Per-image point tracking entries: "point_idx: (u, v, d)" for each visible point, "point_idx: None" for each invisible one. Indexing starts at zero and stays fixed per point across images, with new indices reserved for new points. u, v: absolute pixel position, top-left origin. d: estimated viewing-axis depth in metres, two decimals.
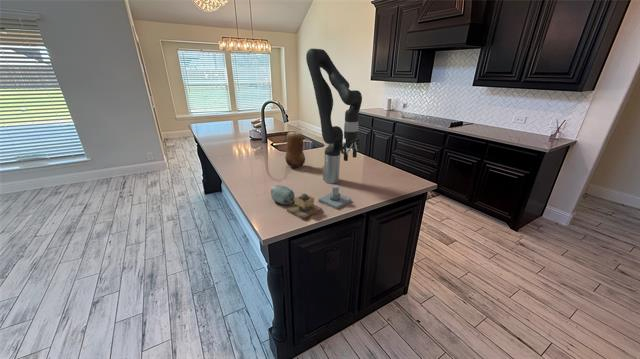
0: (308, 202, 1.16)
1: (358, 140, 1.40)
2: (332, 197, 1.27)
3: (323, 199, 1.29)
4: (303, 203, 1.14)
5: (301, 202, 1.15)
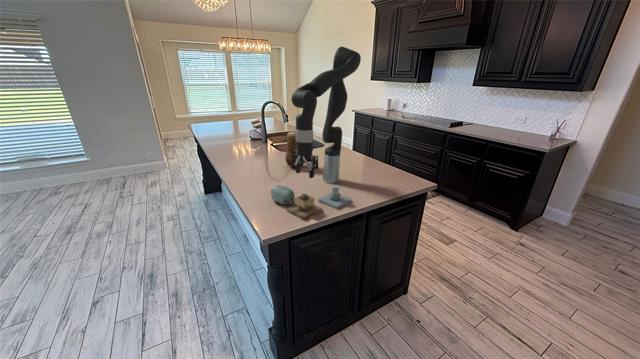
0: (308, 202, 1.16)
1: None
2: (332, 197, 1.27)
3: (323, 199, 1.29)
4: (303, 203, 1.14)
5: (301, 202, 1.15)
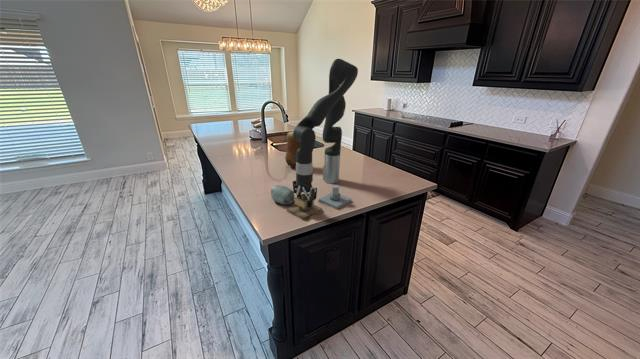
0: None
1: None
2: (332, 197, 1.27)
3: (323, 199, 1.29)
4: (303, 203, 1.14)
5: (301, 202, 1.15)
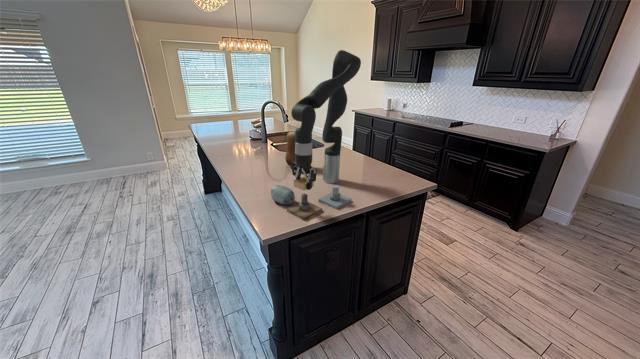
0: None
1: None
2: (332, 197, 1.27)
3: (323, 199, 1.29)
4: (302, 185, 1.11)
5: (300, 184, 1.12)
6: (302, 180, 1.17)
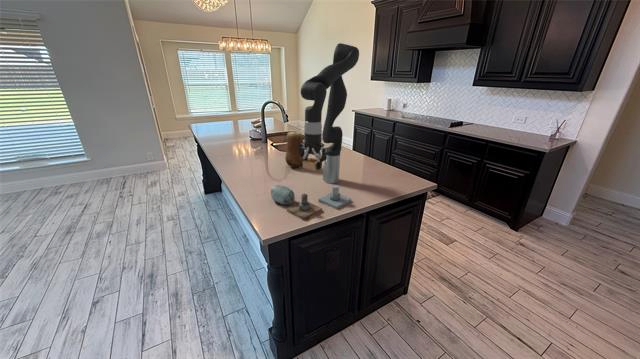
0: None
1: (303, 144, 1.15)
2: (332, 197, 1.27)
3: (323, 199, 1.29)
4: (313, 165, 1.11)
5: (311, 164, 1.11)
6: (310, 161, 1.16)
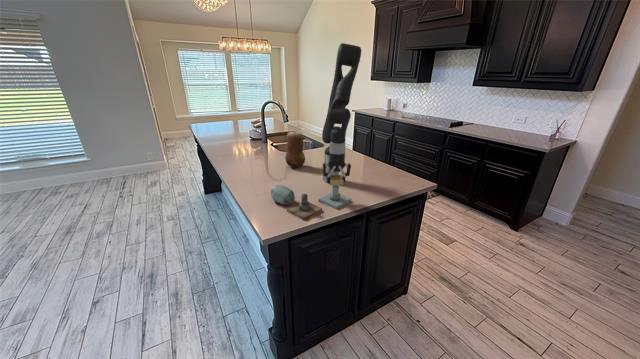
0: (342, 179, 1.25)
1: (324, 164, 1.23)
2: (332, 197, 1.27)
3: (323, 199, 1.29)
4: (342, 181, 1.23)
5: (339, 180, 1.22)
6: (331, 178, 1.26)
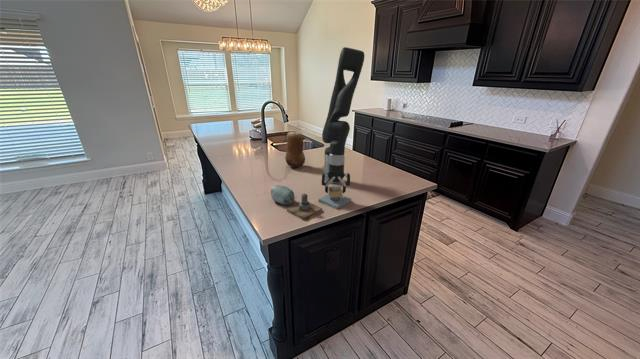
0: (341, 191, 1.28)
1: None
2: (332, 197, 1.27)
3: (323, 199, 1.29)
4: (341, 193, 1.25)
5: (338, 192, 1.25)
6: None
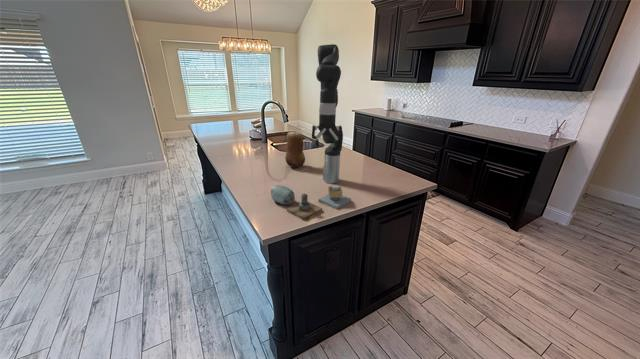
0: (341, 191, 1.28)
1: None
2: (332, 197, 1.27)
3: (323, 199, 1.29)
4: (341, 193, 1.25)
5: (338, 192, 1.25)
6: None
